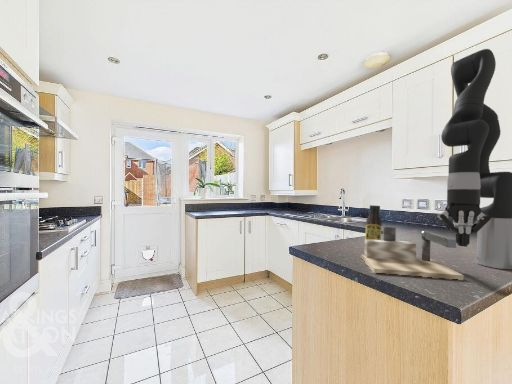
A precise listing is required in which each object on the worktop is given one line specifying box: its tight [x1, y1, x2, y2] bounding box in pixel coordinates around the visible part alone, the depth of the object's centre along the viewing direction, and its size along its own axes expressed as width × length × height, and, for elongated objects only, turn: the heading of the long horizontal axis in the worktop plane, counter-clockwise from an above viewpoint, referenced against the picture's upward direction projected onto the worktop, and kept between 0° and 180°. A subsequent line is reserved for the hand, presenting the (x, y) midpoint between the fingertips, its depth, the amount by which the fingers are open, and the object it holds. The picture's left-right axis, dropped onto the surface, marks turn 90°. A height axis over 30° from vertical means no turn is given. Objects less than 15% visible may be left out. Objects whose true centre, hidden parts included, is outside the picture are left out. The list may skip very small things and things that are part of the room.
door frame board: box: [360, 226, 464, 281], centre depth 80 cm, size 24×18×12 cm
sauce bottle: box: [364, 204, 383, 240], centre depth 104 cm, size 6×6×20 cm
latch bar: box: [420, 230, 457, 249], centre depth 78 cm, size 16×3×2 cm, turn 168°
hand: (462, 245), depth 71 cm, fingers closed
